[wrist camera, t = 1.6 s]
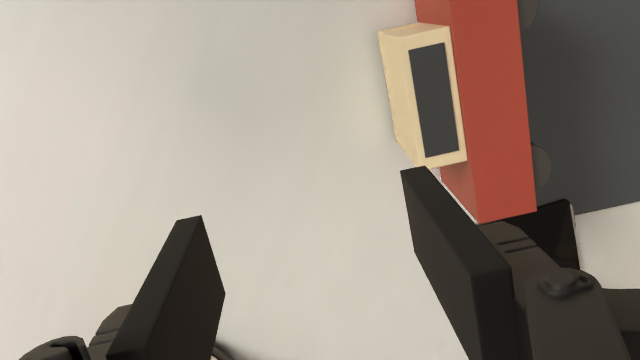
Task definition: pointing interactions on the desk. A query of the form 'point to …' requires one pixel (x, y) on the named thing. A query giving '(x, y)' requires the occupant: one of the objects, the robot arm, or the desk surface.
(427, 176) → the robot arm
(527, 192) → the toy car
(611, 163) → the mat
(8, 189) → the desk surface
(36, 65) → the desk surface
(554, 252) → the black angular block
